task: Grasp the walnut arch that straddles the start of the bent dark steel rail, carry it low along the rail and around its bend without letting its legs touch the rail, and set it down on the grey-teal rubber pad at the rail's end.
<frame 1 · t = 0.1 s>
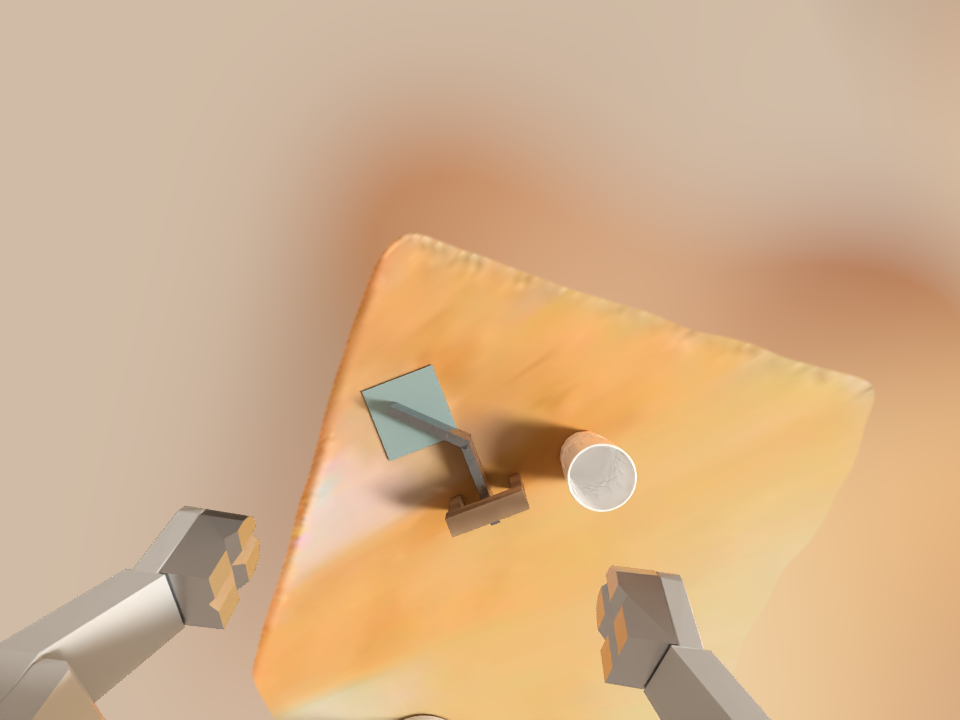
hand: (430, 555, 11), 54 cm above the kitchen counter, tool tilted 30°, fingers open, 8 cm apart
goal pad: (410, 412, 66), on the kitchen counter
white cup: (584, 455, 66), on the kitchen counter
arch: (487, 491, 66), on the kitchen counter
rail: (465, 437, 66), on the kitchen counter
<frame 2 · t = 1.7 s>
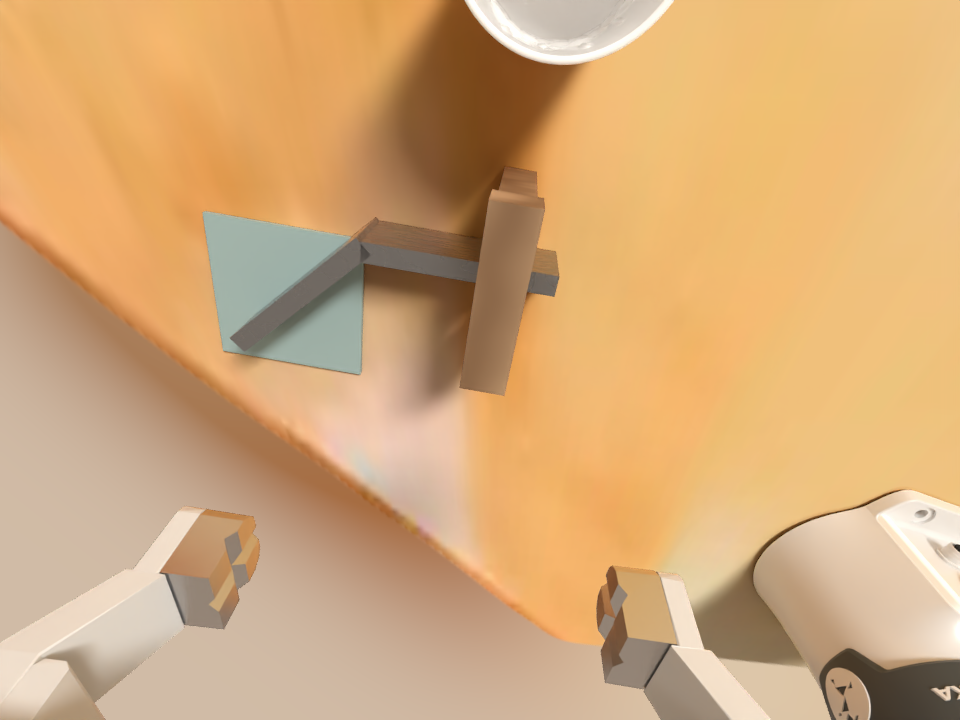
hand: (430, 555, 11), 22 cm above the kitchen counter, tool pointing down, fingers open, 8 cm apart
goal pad: (289, 298, 33), on the kitchen counter
arch: (505, 252, 30), on the kitchen counter
rail: (376, 229, 30), on the kitchen counter
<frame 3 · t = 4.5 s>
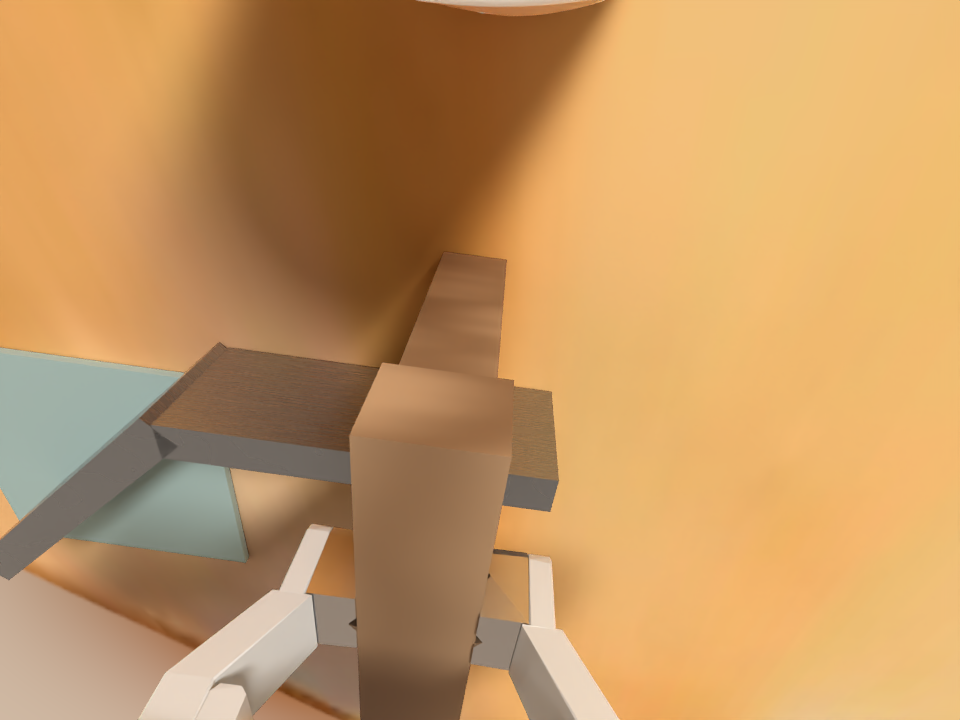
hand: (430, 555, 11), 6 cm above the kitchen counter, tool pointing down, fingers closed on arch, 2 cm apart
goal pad: (108, 461, 20), on the kitchen counter
arch: (459, 393, 17), on the kitchen counter, touching gripper
rail: (225, 362, 17), on the kitchen counter
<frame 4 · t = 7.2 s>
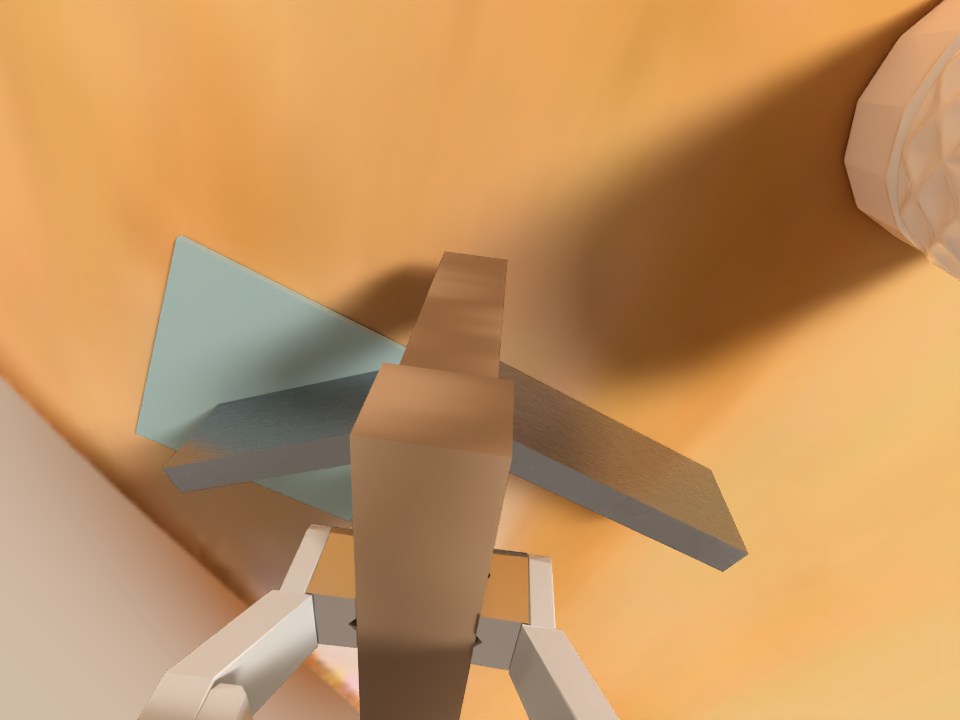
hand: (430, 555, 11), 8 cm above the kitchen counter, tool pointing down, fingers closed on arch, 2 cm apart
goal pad: (281, 400, 20), on the kitchen counter
arch: (460, 394, 17), point 2 cm above the kitchen counter, touching gripper
rail: (469, 361, 18), on the kitchen counter
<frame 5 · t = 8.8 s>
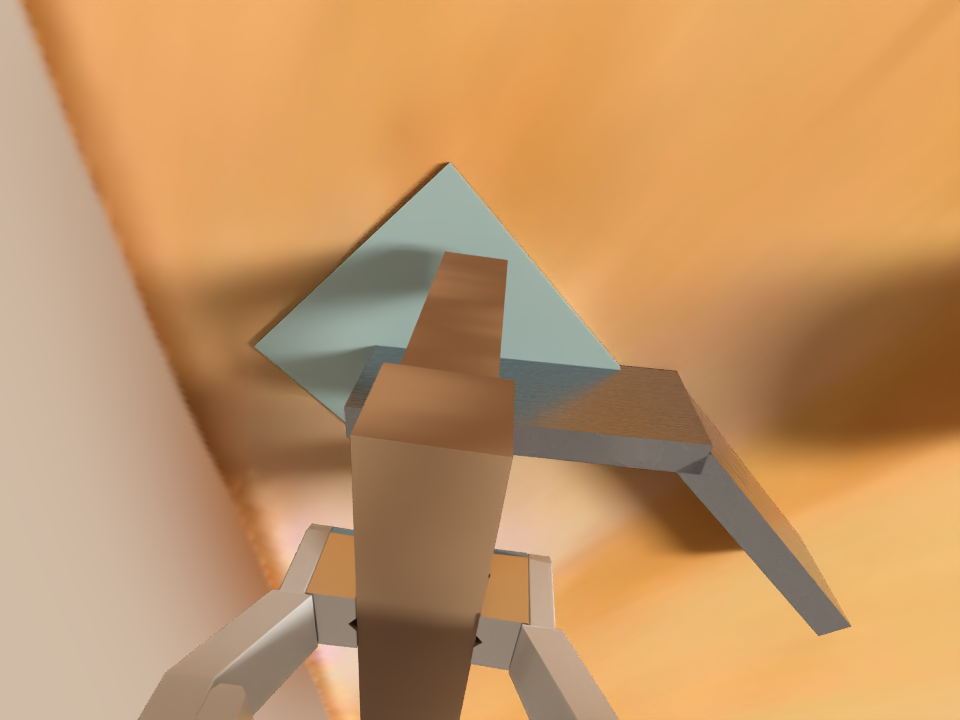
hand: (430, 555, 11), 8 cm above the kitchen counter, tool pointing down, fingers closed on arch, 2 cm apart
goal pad: (442, 361, 18), on the kitchen counter
arch: (460, 393, 17), point 2 cm above the kitchen counter, touching gripper
rail: (659, 383, 18), on the kitchen counter
when the fingers open (7 cm above the kitchen counter, at t = 10.1 s): arch stays where it is, resting on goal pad.
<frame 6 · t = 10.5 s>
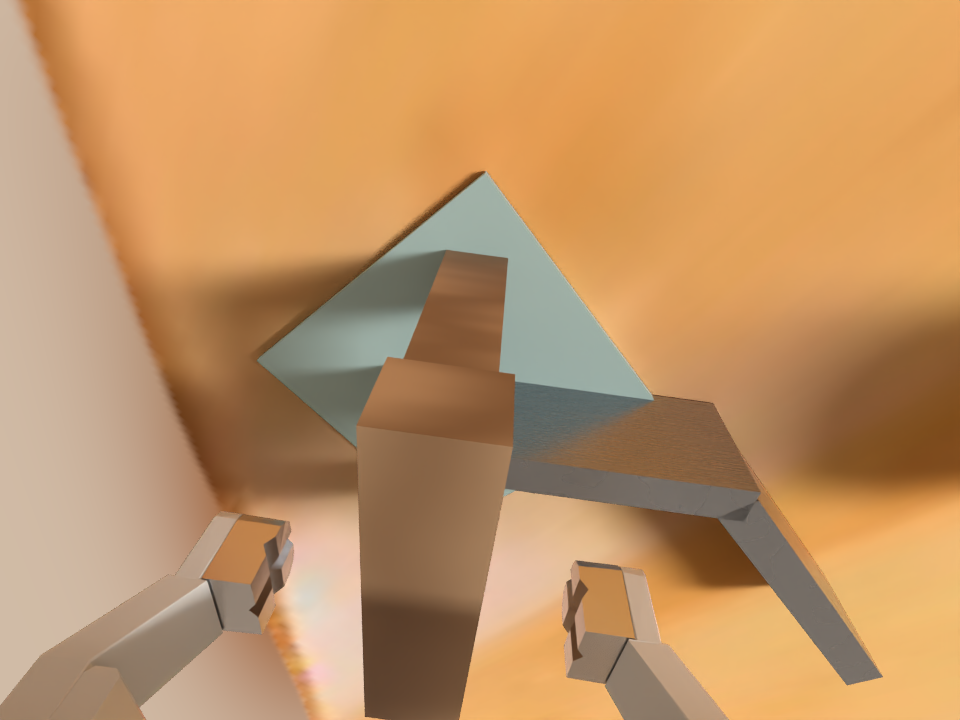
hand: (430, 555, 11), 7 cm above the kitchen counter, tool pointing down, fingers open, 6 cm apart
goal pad: (461, 383, 17), on the kitchen counter
arch: (461, 390, 17), resting on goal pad
rail: (692, 415, 17), on the kitchen counter
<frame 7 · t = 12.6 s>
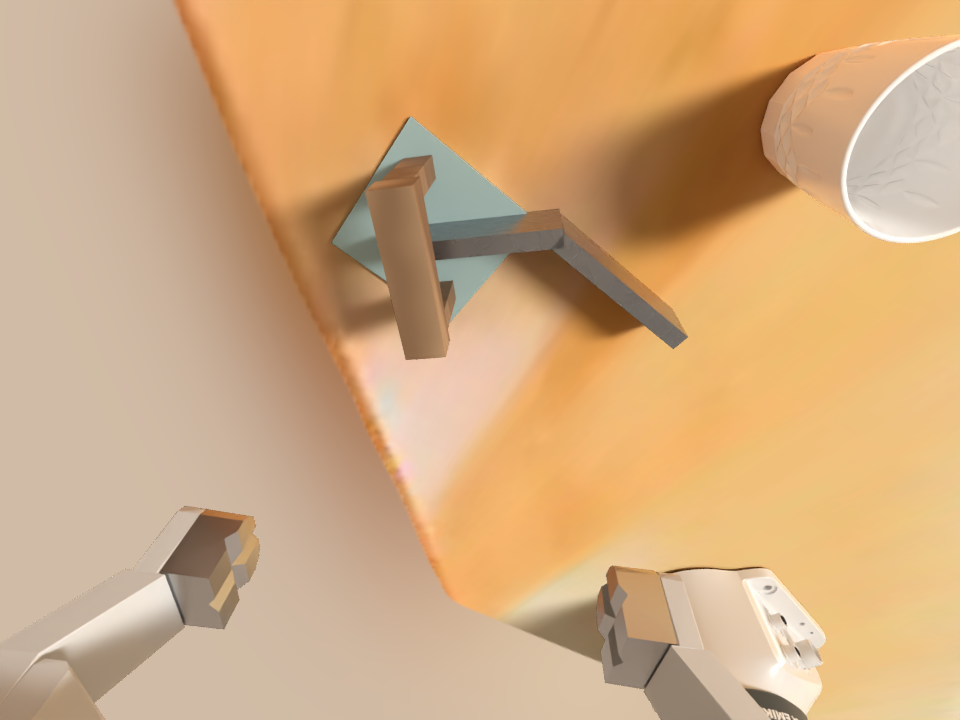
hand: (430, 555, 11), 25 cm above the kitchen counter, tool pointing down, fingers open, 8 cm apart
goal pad: (431, 231, 33), on the kitchen counter
white cup: (820, 116, 28), on the kitchen counter
arch: (431, 233, 33), resting on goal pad
rail: (551, 218, 32), on the kitchen counter
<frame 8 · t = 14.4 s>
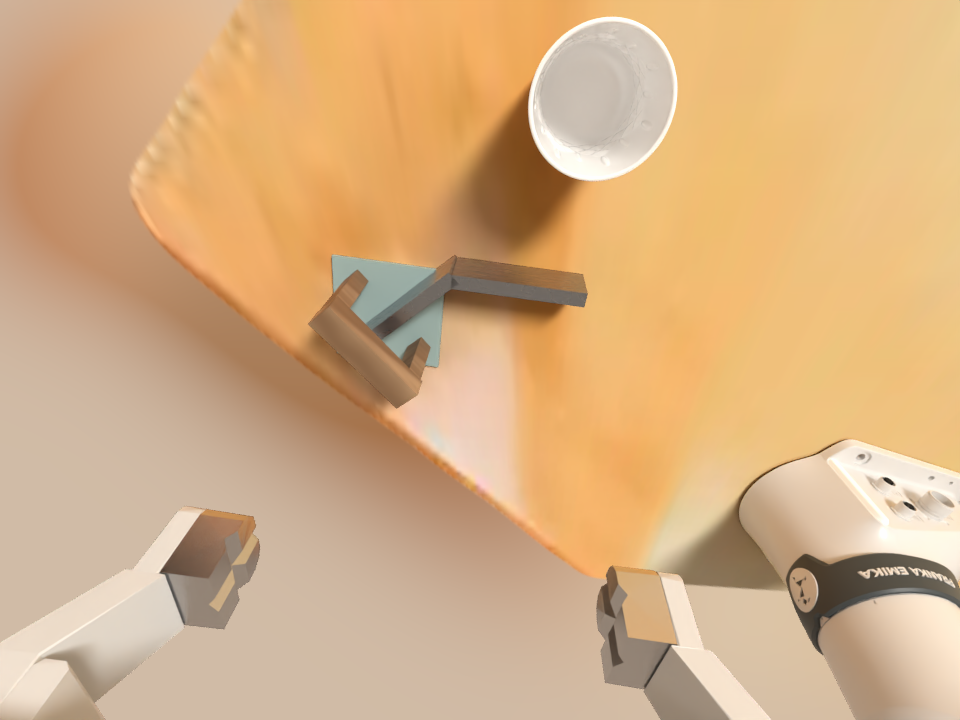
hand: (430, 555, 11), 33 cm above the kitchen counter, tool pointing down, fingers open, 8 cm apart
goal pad: (388, 313, 46), on the kitchen counter
white cup: (582, 92, 35), on the kitchen counter
arch: (388, 314, 45), resting on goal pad
rail: (454, 263, 42), on the kitchen counter
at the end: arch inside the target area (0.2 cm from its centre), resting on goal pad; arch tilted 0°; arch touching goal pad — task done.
